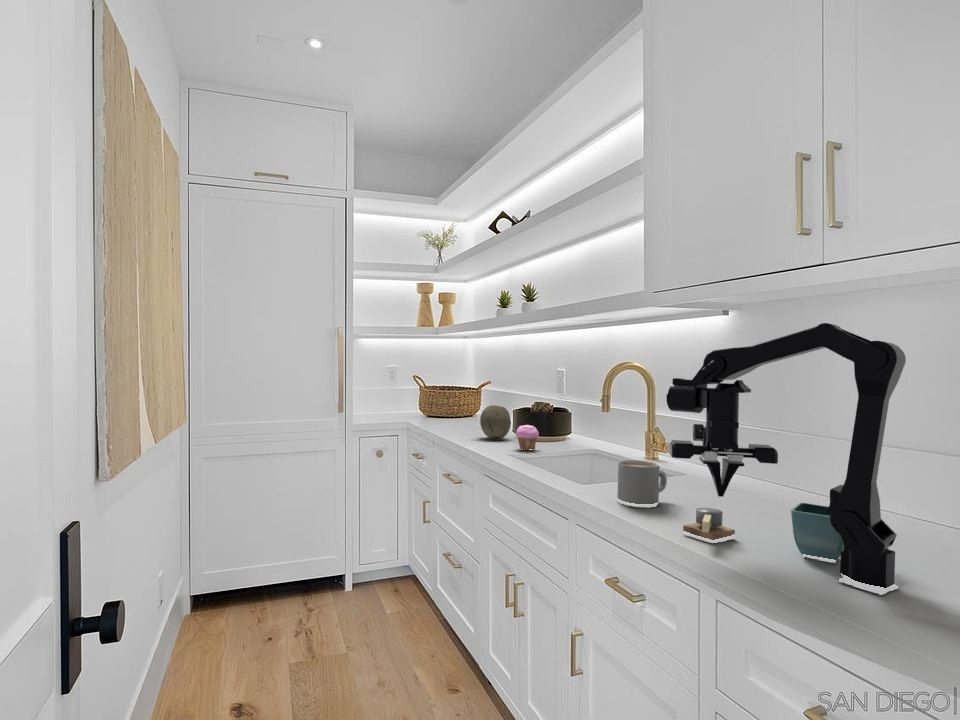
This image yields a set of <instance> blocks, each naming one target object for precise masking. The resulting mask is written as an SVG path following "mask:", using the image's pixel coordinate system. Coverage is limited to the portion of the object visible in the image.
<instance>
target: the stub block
mask: <svg viewBox="0 0 960 720" xmlns="http://www.w3.org/2000/svg"><path fill="white" fill-rule="evenodd" d="M682 528H683V530H682V532H683V531H686V532H689V533H691V534H694V535H697V536H701V537H704V538H708V539H711V540H715V539H719V538H723V537H727V536H731V535H733V534H735V535H736V533H735V532H736V529H734V528H731V527H729V526H728V527H727V526H724V525H722V526H717V527H713V526H711V527H710V530H709V533H707V532H702V525H701V524H698V523H697V522H693V523H687V524H683V527H682Z"/></svg>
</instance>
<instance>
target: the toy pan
mask: <svg viewBox="0 0 960 720" xmlns="http://www.w3.org/2000/svg"><path fill="white" fill-rule="evenodd" d="M695 523H698V524H701V525H702V532H707V533H709V530H710V527H711V526H713V527H717V526H723V511H722V510H720V509H718V508H711V507H697V508H696V509H695Z"/></svg>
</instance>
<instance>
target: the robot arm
mask: <svg viewBox="0 0 960 720" xmlns="http://www.w3.org/2000/svg"><path fill="white" fill-rule="evenodd" d="M822 349H828V350H829V351H831V352H833V353H835V354H837V355H838V356H841V357H842V358H845V359H847V360H849V361H851V362H853V369H854V370H853V371H854V380H855V381H854V382H855V384H856V389H857V390H856V391H857V397H858V398H857V404H856V410H855V418H854V423H853V429H852V436H851V443H850V450H849V457H848V463H847V470H846V476H845V477H846V478H845V481H844V483H843V484H838V485H836V486H834V487H833V488H831V489H830V490H829V506H828V507H829V508H828V510H827V511H826V513H827V514H829V513H831V514H830V522H831V525H832V526H833V527H834V529H835V530H836V531H837V532H838V533H839V534H840V535H841V537H842V540H843V543H844V550H843V551H841V554H840V557H839V558H840V560H839V561H840V563H839V574H840V573H842V574H843V575H846V576H848V577H850V578H851V579H853V580H855V581H858V582H861V583H865V584H869V585H874V586H880V587H884V588H887V587H889V586H891V585H893V584H895V577H896V576H895V571H896V570H895V569H896V567H895V566H896V551H894V550H891V549H889V548H890V547H892V546H893V544H894V543H895V540H896V538H897V533H896V532H895V531H894V530H893V529H892V528H891V527H890V526H889V525H888V524H887V523H886V522H885V521H884V520H883V519H882V517H881V499H880V495H879V490H878V489H879V488H878V485H877V479H878V476H879V475H878V473H879V466H880V461H881V454H882V449H883V444H884V443H883V441H884V436H885V429H886V423H887V417H888V409H889V402H890V399H891V396H892V395H893V393H894V391H895V389H896V387H897V385H898V382H899V381H900V378H901V375H902V373H903V371H904V368H905V365H906V361H907V360H906V354H905V352H904V351H903V350H902V349H901V348H900V346H898V345H897V344H894V343H893V342H887V341H882V340H870V339H867V338H865V337H862V336H859V335H857V334H856V333H853V332H850V331H847V330H845V329H843V328H842V327H840V326H838V325H836V324H833V323H830V322H829V323H827V322H822V323H819V324H817V325H816V326H813V327H811V328H806V329H803V330H800V331H796V332H794V333H793V332H792V333H791V334H787V335H784V336H783V335H782V336H780V337H777V338H774V339H773V338H772V339H770V340H766V341H763V342H760V343H756V344H754V345H751V346H741V347H730V348H722V349H720V348H719V349H715V350H711V351H709V352H708V353H707V354H706V355H705V356H704V359H703V363H702V366H701V367H700V369H699V370H698V371H697V373H696V374H695V375H694V377H693V378H692V379H686V378H683V377H682V378H679V377H675V378H672V381H671V382H672V384H671V385H670V386H669V388H668V391H667V393H666V404H667V408H668V409H669V410H670V411H672V412H683V413H693V414H700V413H702V412H703V410H704V409H706V411H705V413H706V415H705V417H706V418H705V419H706V420H705V426H704V424H702V423H701V424H700V423H694V424H693V425H692V441H694V442H702V445H700V444H699V445H696V444H694V443H693V442H692V441H691V440H682V439H681V440H676V439H672V440H671V441H669V443H668V444H669V446H668V447H669V448H668V451H669V455H670V457H671V458H673V459H674V458H675V459H688V460H690V459H691V458H692V457H693V456H694V455H697V456H699V457H698V459H699V461H700V462H701V463H702V464H703V465H706V466H707V467H708V468H707V469H708V470H709V473H710V475H711V478H712V481H713V484H714V488H715V491H716V494H717V496H718V497H720V498H721V497H722V498H723V497H724V495H725V493H726V491H727V489H728V487H729V485H730V482H731V481H732V478H733V477H734V475H735V474H736V472H737V471H738V469H739V467H745V463H744V461H743V460H744V458H745V459H747V458H751V459H756V460H757V462H759V464H774V465H775V464H778V463H779V454H778V450H777V449H776V448H774V447H773V446H771V445H769V444H756V443H755V444H754V443H749V444H748V447H739V427H740V426H739V424H740V422H739V415H740V414H739V412H740V411H739V410H740V409H739V408H740V402H739V401H740V394H746V393H747V394H748V393H749V394H750V393H751V392H752V389H751V388H750V387H749V386H748V385H746V384H745V382H744V381H743V379H738V378H740V377H742V376H745V375H747V374H749V373H751V372H752V371H754V370H756V369H758V368H759V367H762V366H764V365H767V364H771V363H775V362H778V361H782V360H785V359H789V358H793V357H797V356H800V355H803V354H808V353H811V352H815V351H818V350H822ZM731 380H735V381H734V382H733V383H726V382H725V383H724V381H731ZM708 385H716V386H715V387H708ZM718 457H722V459H721V462H720V461H719V460H718ZM721 463H722V464H721ZM721 465H722V468H721ZM721 469H722V470H721Z"/></svg>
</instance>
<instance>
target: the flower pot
mask: <svg viewBox="0 0 960 720" xmlns="http://www.w3.org/2000/svg"><path fill="white" fill-rule="evenodd" d="M828 508H829V506H826V505H819V504H815V503H814V504H813V503H808V502H798V503H797V504H796V505H794V507H792V508H791V509H790V513H791V522H792V523H791V525H792V534H793V539H794V542H795V545H796V547H797V549H798V551H799V553H800V554H801V553H802V554H806V555H811V556H817V557H823V558H828V559H834V560H837V561H839V558H840V554H841V551H843V550H844V543H843V540H842V537H841V535H840V534H839V533H838V532H837V531H836V530H835V529H834V527H833V526H832V525H831V522H830V514H831V513H829V514H827V513H826V511H827V510H828ZM802 554H801V555H802Z"/></svg>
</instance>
